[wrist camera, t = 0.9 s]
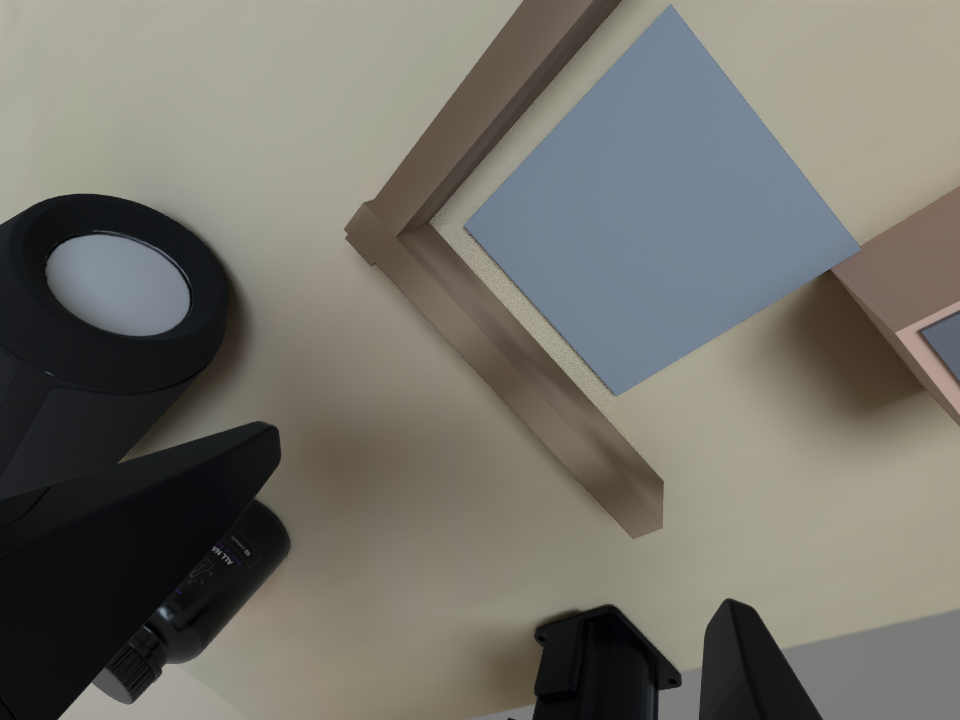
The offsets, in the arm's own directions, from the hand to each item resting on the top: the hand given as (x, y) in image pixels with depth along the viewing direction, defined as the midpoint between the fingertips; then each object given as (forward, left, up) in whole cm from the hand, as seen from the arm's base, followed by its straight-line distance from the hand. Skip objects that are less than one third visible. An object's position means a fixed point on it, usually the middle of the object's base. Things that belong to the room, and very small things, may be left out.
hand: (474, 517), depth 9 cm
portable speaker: (+16, +26, -13) cm, 33 cm away
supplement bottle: (+2, +32, -13) cm, 34 cm away
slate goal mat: (+1, -3, -13) cm, 13 cm away
